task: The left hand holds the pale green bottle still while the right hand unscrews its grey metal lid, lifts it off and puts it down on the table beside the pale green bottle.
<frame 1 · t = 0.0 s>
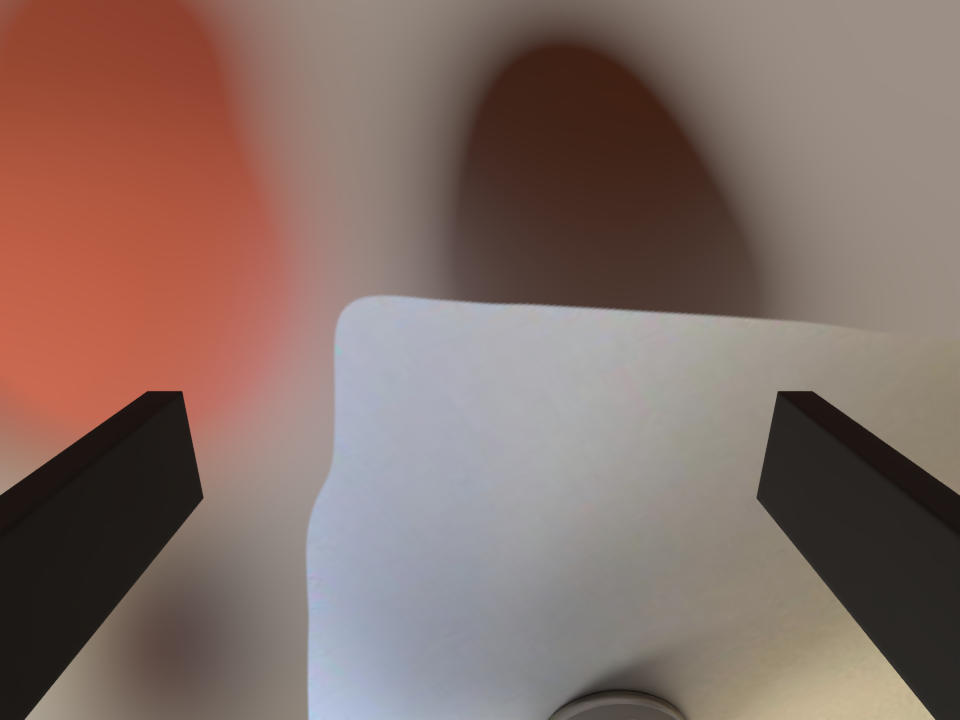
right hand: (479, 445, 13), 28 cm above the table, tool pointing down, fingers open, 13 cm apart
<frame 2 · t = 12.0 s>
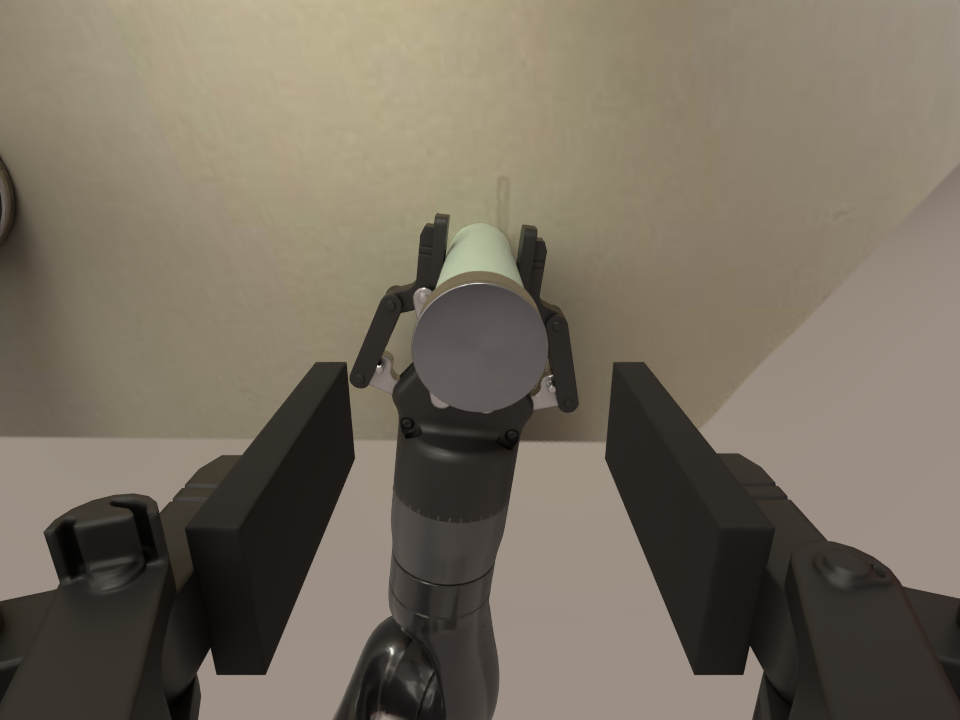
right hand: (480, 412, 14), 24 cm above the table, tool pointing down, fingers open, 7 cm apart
left hand: (485, 222, 30), fingers closed on pale green bottle, 4 cm apart
pale green bottle: (479, 254, 37), on the table, touching left hand
lid: (479, 347, 19), point 19 cm above the table, screwed on, not yet turned
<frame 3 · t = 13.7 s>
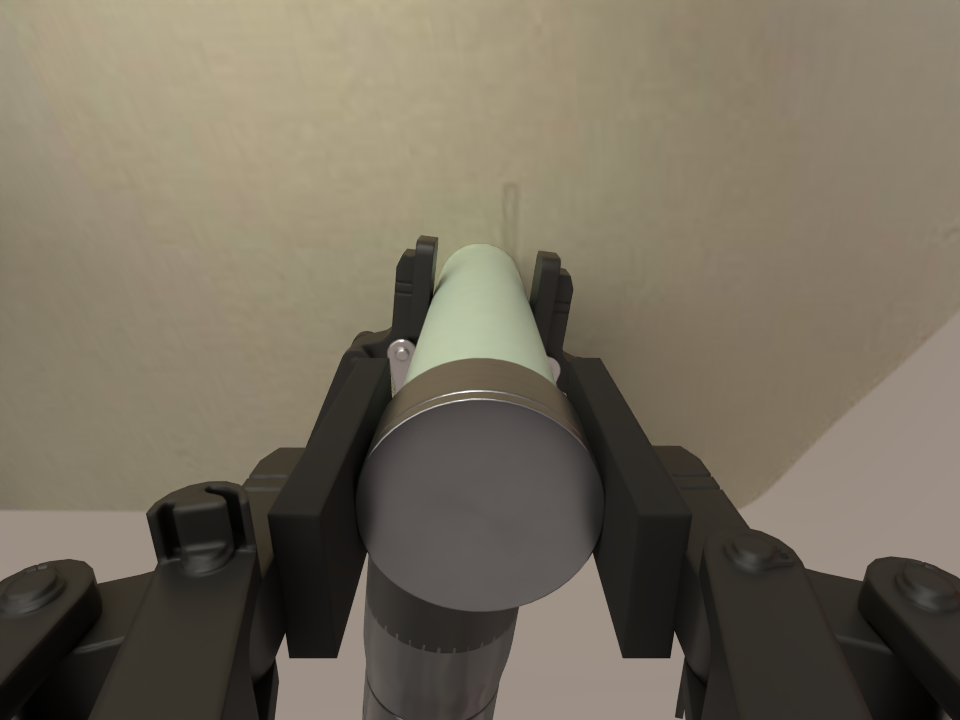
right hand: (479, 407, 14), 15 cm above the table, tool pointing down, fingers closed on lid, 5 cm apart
pale green bottle: (479, 284, 28), on the table, touching left hand
lid: (479, 502, 10), point 19 cm above the table, screwed on, not yet turned, touching right hand
when the right hand's fingers open (15 cm above the table, at t = 15.0 s): lid stays where it is, point 19 cm above the table.
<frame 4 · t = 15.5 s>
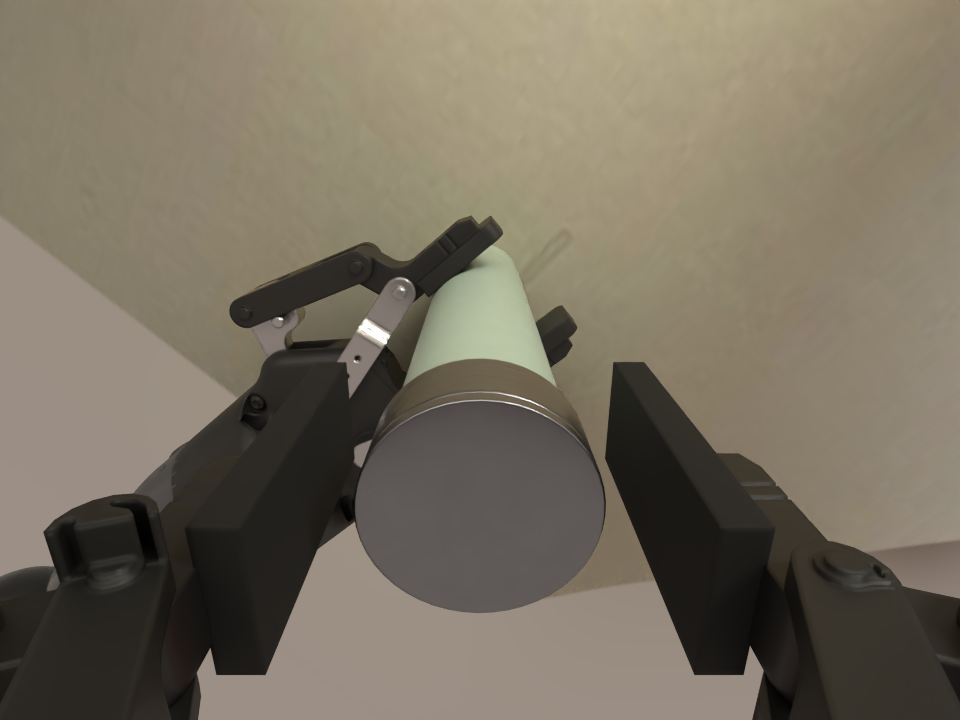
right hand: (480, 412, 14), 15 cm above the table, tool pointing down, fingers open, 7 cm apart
pale green bottle: (479, 283, 28), on the table, touching left hand
lid: (479, 503, 10), point 19 cm above the table, turned 84° so far, risen 0.2 cm, still on its thread
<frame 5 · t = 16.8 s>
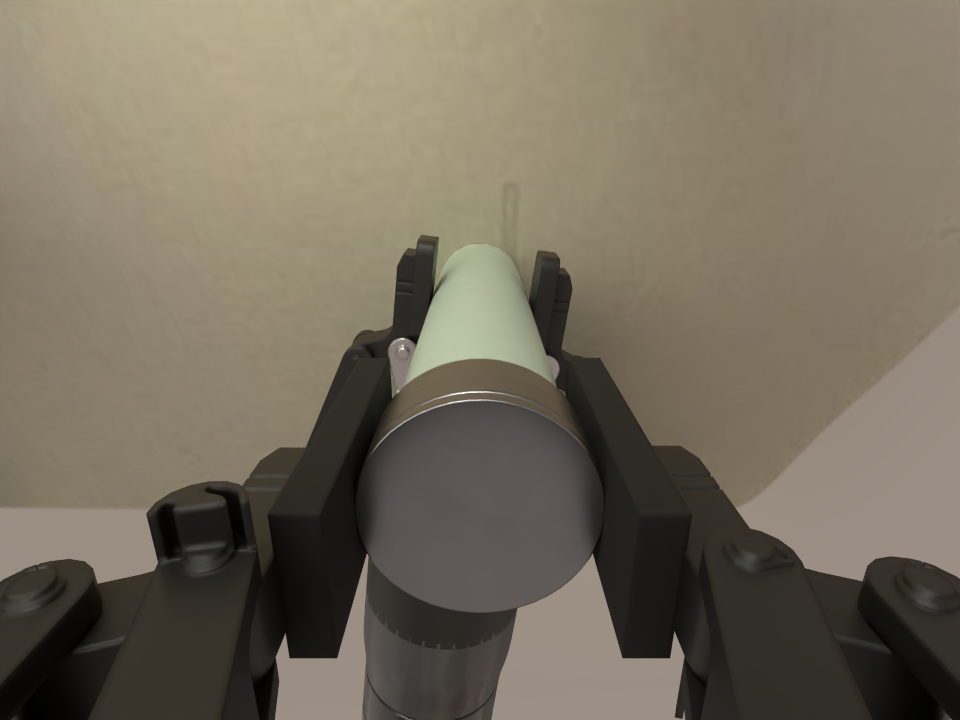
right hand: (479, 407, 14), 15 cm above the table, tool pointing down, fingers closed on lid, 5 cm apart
pale green bottle: (479, 283, 28), on the table, touching left hand
lid: (479, 503, 10), point 19 cm above the table, turned 84° so far, risen 0.2 cm, still on its thread, touching right hand
when the right hand's fingers open (0 cm above the table, at t = 25.2 s): lid drops 2 cm, point 2 cm above the table.
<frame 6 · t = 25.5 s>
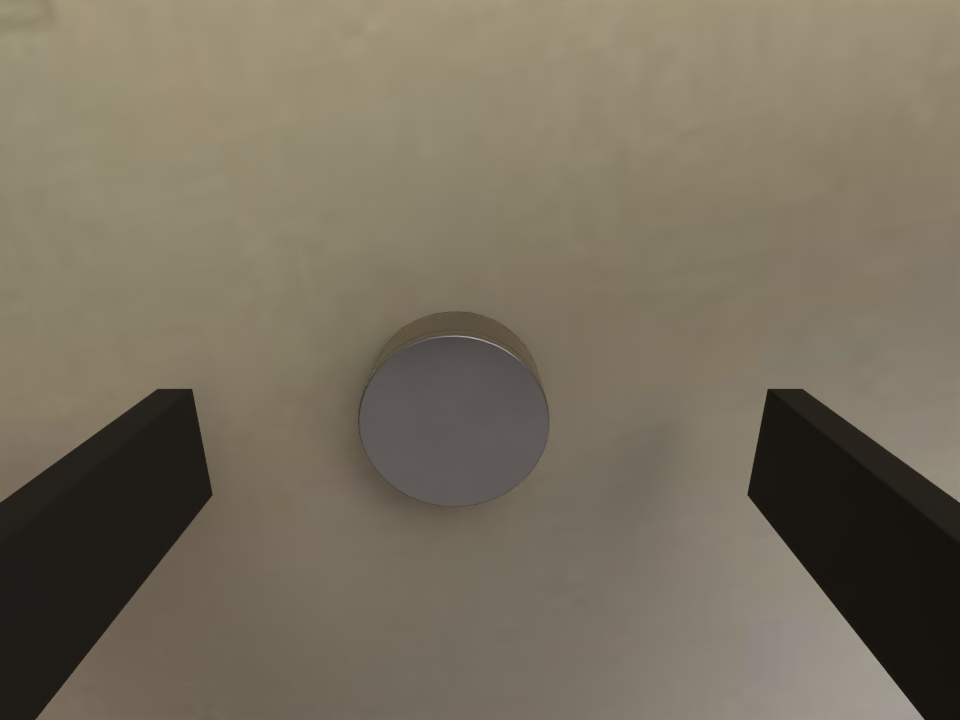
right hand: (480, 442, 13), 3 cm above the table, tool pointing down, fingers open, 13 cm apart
lid: (454, 419, 14), point 2 cm above the table, off its thread
when the left hand's fingers open (6 cm above the table, at t = 25.8 s): pale green bottle stays where it is, on the table.
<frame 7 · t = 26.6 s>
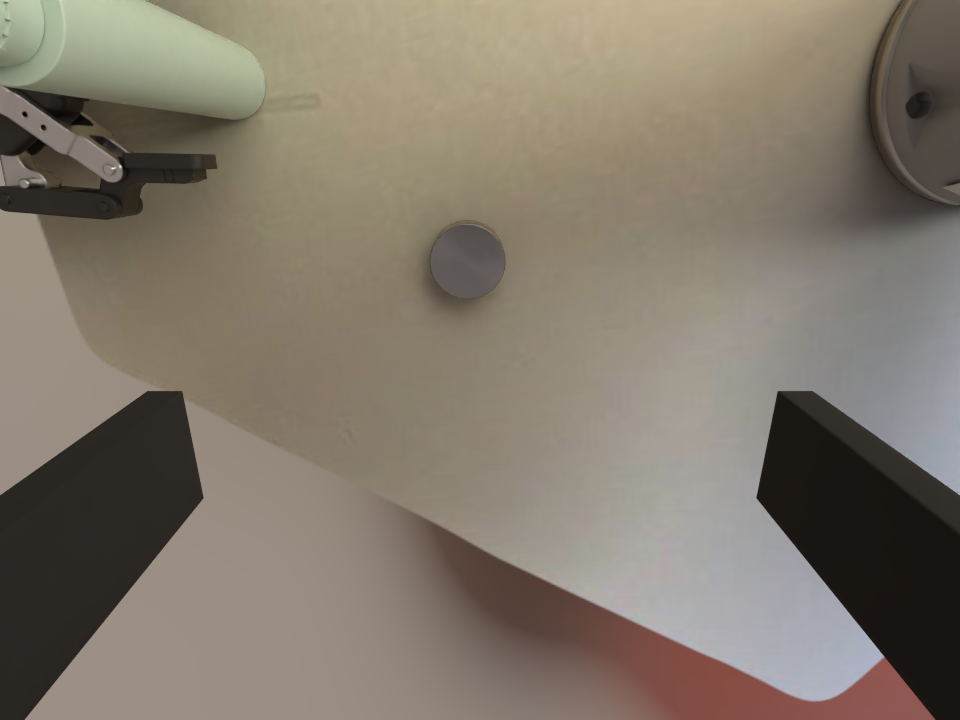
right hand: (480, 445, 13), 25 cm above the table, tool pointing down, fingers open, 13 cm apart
pale green bottle: (230, 81, 32), on the table
lid: (467, 261, 34), point 2 cm above the table, off its thread
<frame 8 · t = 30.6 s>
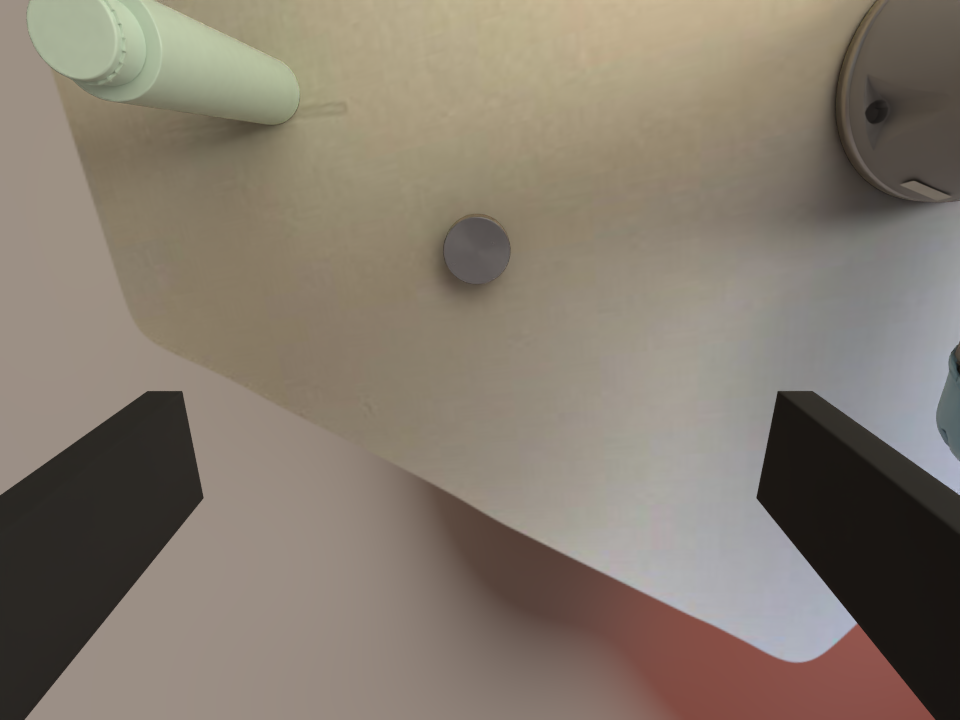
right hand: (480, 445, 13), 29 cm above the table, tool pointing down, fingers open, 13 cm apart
pale green bottle: (268, 91, 37), on the table
lid: (476, 250, 38), point 2 cm above the table, off its thread
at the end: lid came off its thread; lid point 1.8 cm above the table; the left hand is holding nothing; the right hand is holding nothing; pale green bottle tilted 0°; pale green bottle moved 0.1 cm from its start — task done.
